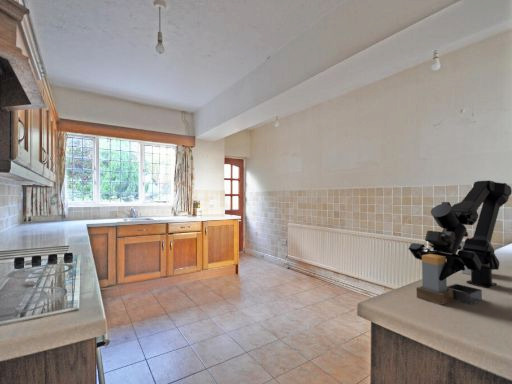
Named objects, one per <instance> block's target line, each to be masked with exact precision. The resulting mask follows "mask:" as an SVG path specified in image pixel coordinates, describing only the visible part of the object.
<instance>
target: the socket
mask: <svg viewBox="0 0 512 384" xmlns="http://www.w3.org/2000/svg"><path fill="white" fill-rule="evenodd" d="M447 289H450V290H453V295H454V300H453V301H457V302H461V303H464V304H467V305H473V304H475V303H477V302H480V301H482V300H483V292H482V291H483V290H482V289H479V288H476V287H471V286H468V285H463V284H459V283H452V284H450V285H447Z"/></svg>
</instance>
